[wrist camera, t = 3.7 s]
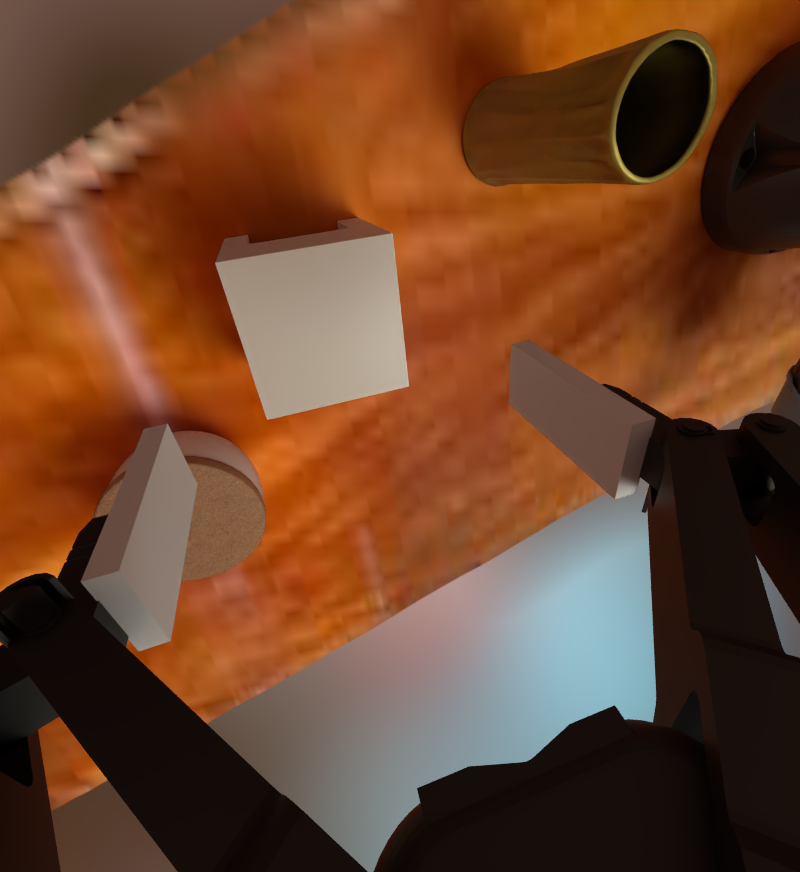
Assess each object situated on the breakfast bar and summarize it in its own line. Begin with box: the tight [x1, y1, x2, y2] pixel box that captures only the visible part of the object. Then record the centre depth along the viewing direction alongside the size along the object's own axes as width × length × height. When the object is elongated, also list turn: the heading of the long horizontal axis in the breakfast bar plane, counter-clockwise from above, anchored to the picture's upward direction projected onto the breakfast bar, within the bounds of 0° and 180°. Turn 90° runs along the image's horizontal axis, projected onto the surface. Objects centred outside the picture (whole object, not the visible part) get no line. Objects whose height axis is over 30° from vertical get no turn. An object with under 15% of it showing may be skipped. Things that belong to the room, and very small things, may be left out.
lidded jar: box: [94, 431, 266, 581], centre depth 32 cm, size 11×11×9 cm
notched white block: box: [215, 218, 409, 420], centre depth 27 cm, size 9×9×9 cm
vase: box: [463, 29, 718, 186], centre depth 24 cm, size 6×6×14 cm
